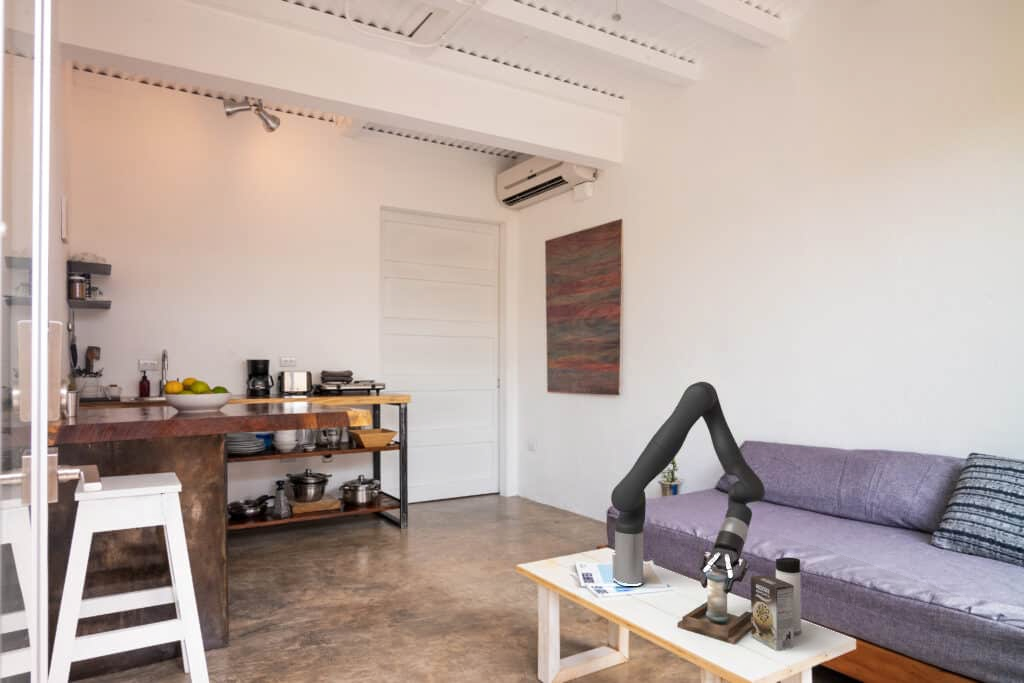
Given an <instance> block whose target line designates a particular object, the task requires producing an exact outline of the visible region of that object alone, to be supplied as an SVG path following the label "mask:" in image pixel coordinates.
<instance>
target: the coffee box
mask: <svg viewBox="0 0 1024 683" xmlns="http://www.w3.org/2000/svg"><path fill="white" fill-rule="evenodd" d="M750 612H751V631H750V633H751V634H750V636H751V639H754V640H755V641H757V642H759V643H761V644H762V645H765V646H767V647H768V648H770V649H772V650H774V649H775V650H774V651H776V652H778V651H777V650H779V651H783V650H787V648H788V649H792V648H794V647H795V644H794V640H795V639H794V637H795V636H794V585H792V584H789V583H787V582H785V581H782V580H780V579H777V578H776V576H775V577H774V576H773V575H770V574H765V575H755V576H751V577H750ZM782 649H783V650H782Z"/></svg>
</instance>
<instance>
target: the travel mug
mask: <svg viewBox="0 0 1024 683" xmlns="http://www.w3.org/2000/svg"><path fill="white" fill-rule="evenodd" d="M801 577H802V576H801V560H800V558H795V557H785V556H784V557H781V558H776V559H775V578H777V579H780V580H782V581H785V582H787V583H789V584H792V585H794V637H796V636H800V635H801V634H802V588H801V586H802V584H801V581H802V580H801Z"/></svg>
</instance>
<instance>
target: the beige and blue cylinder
mask: <svg viewBox="0 0 1024 683" xmlns="http://www.w3.org/2000/svg"><path fill="white" fill-rule="evenodd" d="M706 578H707V601H708V611H707V612H706V617H707V618H708V619H709V620H712V621H716V622H725V621H728V620H729V614H730V613H729V614H728V594H726V593H725V592H724V590H723V589H724V585H725V582H726V580H727V578H728V572H725V571H722V570H716V571H707V572H706Z"/></svg>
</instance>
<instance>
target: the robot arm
mask: <svg viewBox="0 0 1024 683" xmlns="http://www.w3.org/2000/svg"><path fill="white" fill-rule="evenodd" d="M718 395H719V394H718V393H717V390H716V388H715V386H714V385H712V384H711V383H709V382H706V381H698V382H696V383H692V384H690V385H689V386H688V387H687V388H686V389H685V390H684V392H683V394H682V395H681V398H680V400H679V401H678V403H677V405H676V406H675V408H674V410H673V411H672V413H670V416H669V417H668V418H667V419H666V420H665V421H664V423H663V424H662V425H661V426H660V427H659V428H658V429H657V431H656V432H655V434H653V436H652V437H651V439H650V440H649V442H648V443H647V444H646V446H645V448H644V449H643V451H642V452H641V453H640V455H639V456H638V458H637V460H636V461H635V463H634V464H633V466H632V467H631V469H630V470H629V471H628V472H627V474H625V475H624V477H623V478H622V479H621V481H619V483H618V484H617V485H615V487H614V488H613V490H612V492H611V498H610V499H611V504H612V507H613V508H614V509H615V510H617V511H618V512H619V513H618V516H617V518H616V520H615V522H614V542H615V543H614V546H615V547H614V549H615V550H614V552H613V553H612V579H613V578H615V579H616V580H617V581H620V582H622V583H627V584H638V583H642V582H643V583H644V525H645V522H646V506H647V505H646V500H647V499H646V492H645V489H646V488H647V487H648V485H650V483H651V482H652V481H653V480H655V479H656V478H657V477H658V476H659V475H660V474H661V473H662V472H663V471H664V470H666V468H667V467H669V465H671V463H672V462H673V460H674V459H675V457H676V456H677V455H678V453H679V452H680V450H681V449H682V447H683V444H684V443H685V441H686V438H687V437H688V435H689V432H690V431H691V429H692V428H693V426H695V424H696V423H697V422H698V421H699V419H700V418H701V417H702V419H703V421H704V422H705V424H706V427H707V430H708V432H709V436H710V438H711V442H712V443H711V444H712V445H713V446H712V447H713V449H714V451H715V454H716V456H717V459H718V461H719V463H720V465H721V467H722V469H723V471H724V473H725V474H726V475H728V476H733V477H736V478H737V479H738V480H737V481H735V482H733V483H732V484H730V487H729V489H728V494H727V498H728V500H727V511H726V513H725V516H724V519H723V521H722V523H721V525H720V528H719V530H718V534H717V537H716V539H715V541H714V546H713V549H712V550H711V551H710V552H709V551H706V550H704V549H702V550H700V555H699V560H698V570H699V571H700V573H701V574H702V575H701V578H700V584H701V586H702V588H703V589H707V588H708V586H707V578H706V572H707V571H718V570H724V571H727V574H728V578H727V580H726V582H725V585H724V589H723V590H724V592H725V593H726V594H727V595H728V594H729V593H730V592H732V589H733V585H734V583H736V582H739V583H741V582H743V580H744V577H745V576H746V574H747V572H748V570H749V568H750V563H749V561H748V559H747V558H741V556H742V553H743V549H744V546H745V544H746V541H747V536H748V530H749V529H750V528H749V527H750V524H751V521H752V517H753V512H752V509H751V508H750V507H749V506H748V504H751V503H756V502H760V501H762V500H763V499H764V497H765V494H766V492H765V491H766V489H765V486H764V484H763V482H762V480H761V479H760V477H759V475H758V474H756V473H755V471H754V470H753V469H752V467H751V466H750V465H749V464H748V462H746V459H745V458H744V455H743V453H742V452H741V451H742V450H740V447H739V446H738V444H737V442H736V439H735V437H734V436H733V433H732V432H731V430H730V429H731V428H730V427H729V425H728V422H727V420H726V417H725V414H724V412H723V410H722V409H723V408H722V406H721V403H720V399H719V396H718ZM710 558H711V559H710ZM708 561H709V562H708ZM737 565H739V567H738V569H737V570H736V572H735V567H736V566H737Z"/></svg>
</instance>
